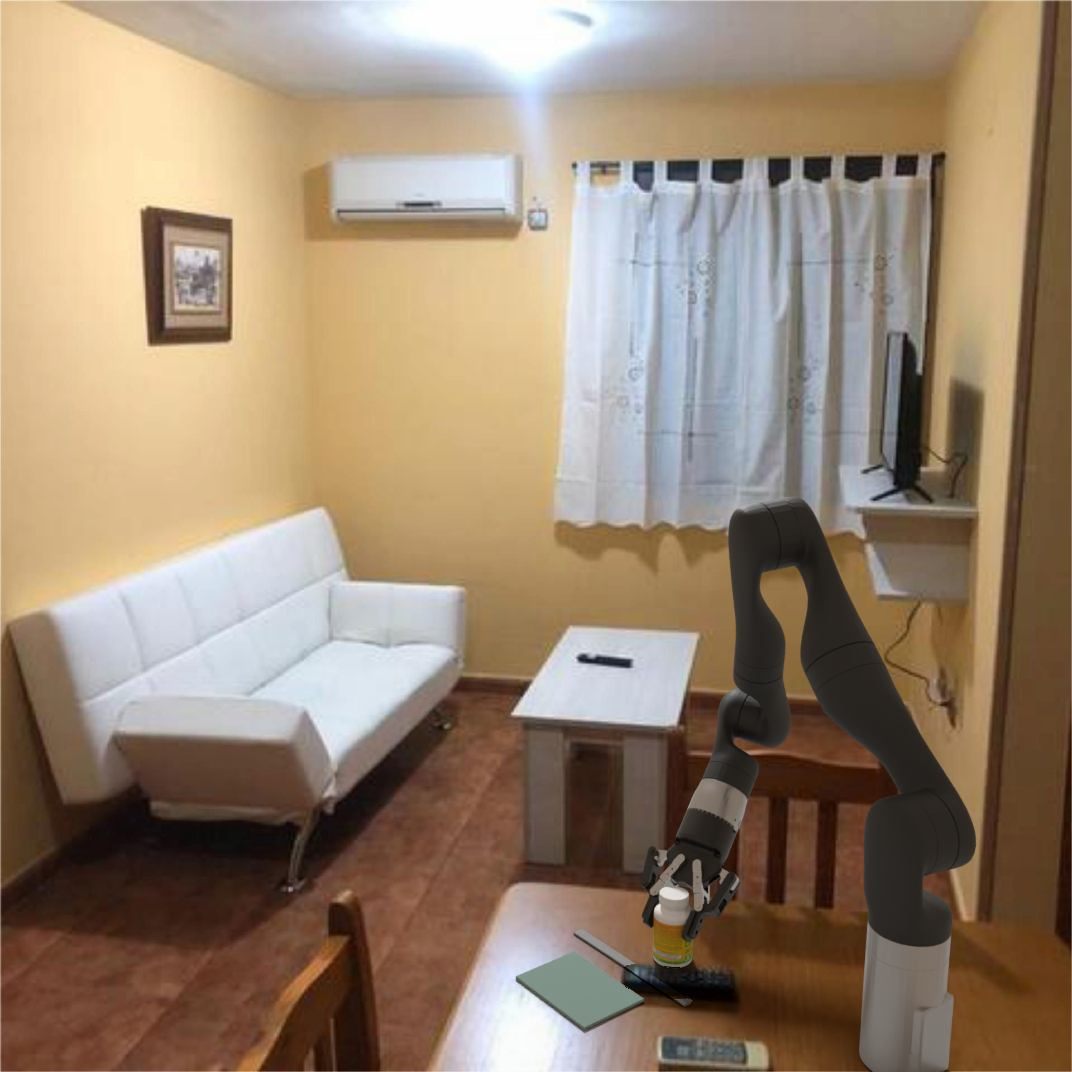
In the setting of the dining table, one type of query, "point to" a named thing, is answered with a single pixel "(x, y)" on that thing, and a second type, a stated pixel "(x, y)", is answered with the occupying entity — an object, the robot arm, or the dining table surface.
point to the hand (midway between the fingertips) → (666, 932)
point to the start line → (613, 955)
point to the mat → (579, 990)
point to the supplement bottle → (671, 928)
